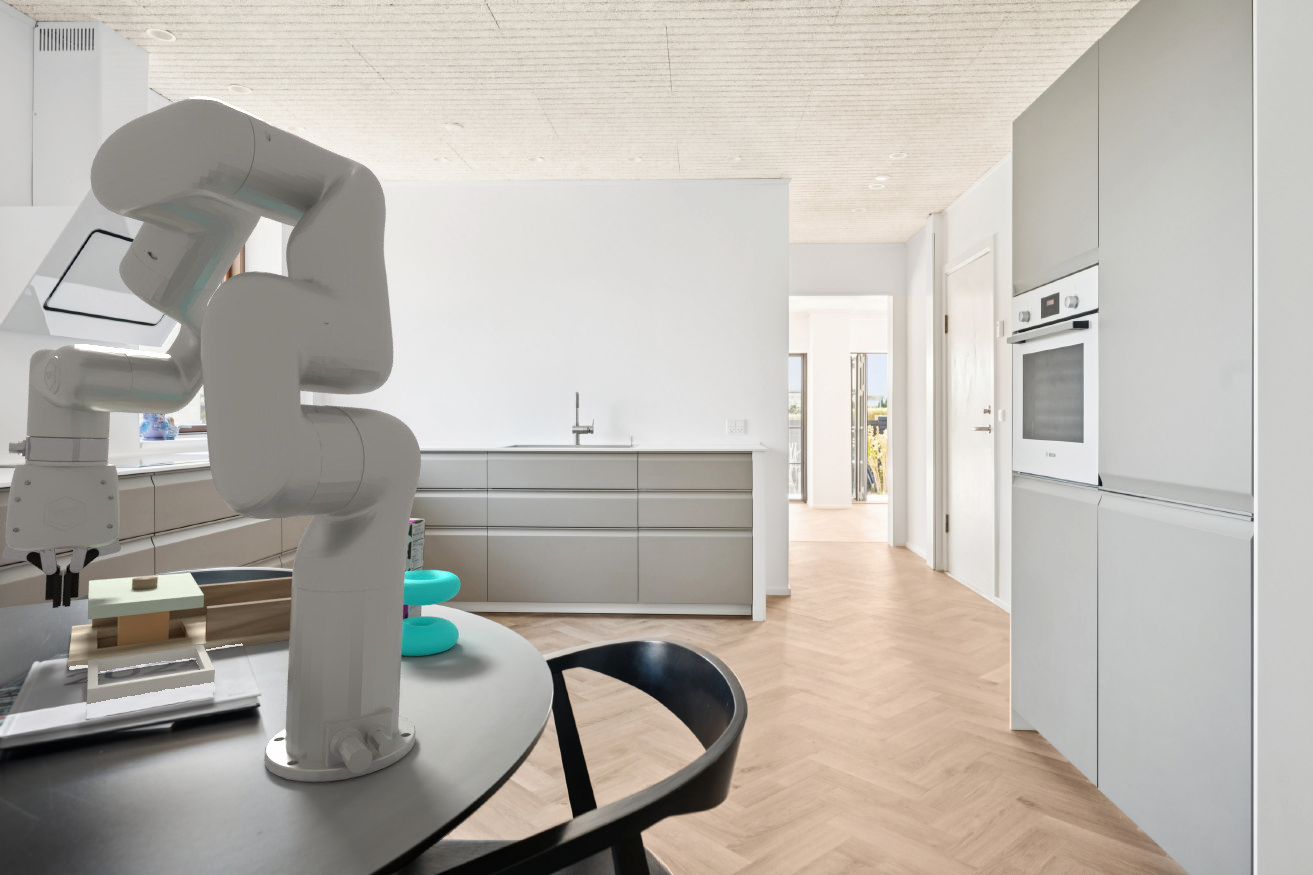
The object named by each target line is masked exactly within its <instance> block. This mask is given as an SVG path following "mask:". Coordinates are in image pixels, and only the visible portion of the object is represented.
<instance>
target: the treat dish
mask: <svg viewBox="0 0 1313 875" xmlns="http://www.w3.org/2000/svg"><path fill="white" fill-rule="evenodd" d="M190 658H196V661H197V663H198V666H199V668H198V669H196V670H188V671H181V672H177V673H171V674H163V675H162V674H161V675H158V676H157V675H156V676H150V677H149V676H148V677H143V678H139V679H131V680H125V681H118V682H113V683H112V682H111V683H105V684H99V675H98V672H100V671H107V670H112V669H116V668H124V667H130V666H136V665H141V664H149V663H156V662H161V661H176V660H182V659H190ZM211 660H212V659H211V658H210V657H209V654H208V651H207V652H206V650H205V648H204V646H203V645H196V646H188V647H181V648H174V649H166V650H159V651H152V652H144V653H137V654H130V655H122V656H115V657H108V658H100V659H93V660H88V669H87V680H88V681H87V685H86V686H87V687H86V692H87V693H86V705H87V704H91V703H96V702H101V701H106V700H110V699H118V698H122V697H127V696H135V695H141V694H145V693H150V692H158V691H162V690H165V689H175V688H180V687H186V686H192V685H200V684H204V683H211V682H214V683H215V680H216V679H215V678H216V676H215V674H216V669H215V667H214V664H213V663H212V661H211ZM196 661H195V662H196ZM198 666H197V667H198ZM199 669H200V670H199Z"/></svg>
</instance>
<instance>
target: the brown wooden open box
mask: <svg viewBox="0 0 1313 875" xmlns="http://www.w3.org/2000/svg"><path fill="white" fill-rule="evenodd" d="M197 585H198V586H199V588H200V590H201V591H202V593H203V594H204V607H201V608H192V609H182V610H173V611H170V612H169V636H168V640H162V641H154V642H147V643H139V644H131V645H123V646H118V645H117V628H118V616H117V617H108V618H98V619H91V620H92V621H91V624H80V625H79V624H78V625H72V626H71V636H70V644H69V653H68V661H67V662H68V663H67V664H68V665H67V668H68V667H70V666H76V665H88V660H93V659H100V658H108V657H115V656H122V655H130V654H137V653H144V652H152V651H159V650H166V649H174V648H181V647H188V646H196V645H203V646H204V648H205V650H206V649H211V648H216V647H222V646H225V645H235V644H241V643H242V644H243V647H249V646H255V645H262V644H263V645H264V644H270V643H275V642H276V643H278V642H283V641H289V637H290V613H291V589H292V576H284V577H274V578H273V577H272V578H264V579H263V578H262V579H253V580H241V581H230V582H219V583H218V582H217V583H208V584H207V583H206V584H197Z"/></svg>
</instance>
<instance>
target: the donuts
mask: <svg viewBox="0 0 1313 875" xmlns="http://www.w3.org/2000/svg"><path fill="white" fill-rule="evenodd" d="M461 587H462V583H461V580H460V578H459V577H458V575H456V574H455V573H453V572H451V571H446V570H438V569H423V570H414V571H406V572H405V580H404V600H403V604H404V605H413V606H421V607H422V606H433V605H438V604H439V605H440V604H443V603H445V602H448V601H450V600H451V599H453V598H455V597H456V596H457V594H458V593H459V592H460V589H461ZM458 629H459V628H458V627H457V626H456V625H455V624H454V623H453V622H452V621H450V620H449V619H446V618H444V617H438V616H431V615H430V616H427V615H424V616H422V615H421V617H411V618H407V619H403V625H402V649H401V656H405V657H407V656H408V657H422V656H423V657H424V656H430V655H435V654H439V653H443V652H445V651H448V650H449V649H451V648H452V647H454V646H455V645H456V643H458V639H459V634H460V633H459V630H458Z"/></svg>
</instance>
